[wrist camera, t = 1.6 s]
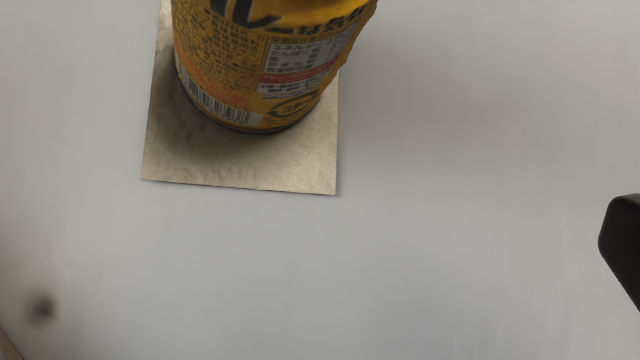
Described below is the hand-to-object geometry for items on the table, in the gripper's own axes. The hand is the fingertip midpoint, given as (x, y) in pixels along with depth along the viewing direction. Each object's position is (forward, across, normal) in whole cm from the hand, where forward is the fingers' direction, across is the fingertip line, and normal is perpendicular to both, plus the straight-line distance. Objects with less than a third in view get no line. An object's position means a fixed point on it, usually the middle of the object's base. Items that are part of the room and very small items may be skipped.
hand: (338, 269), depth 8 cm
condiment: (+15, -1, +3) cm, 16 cm away
